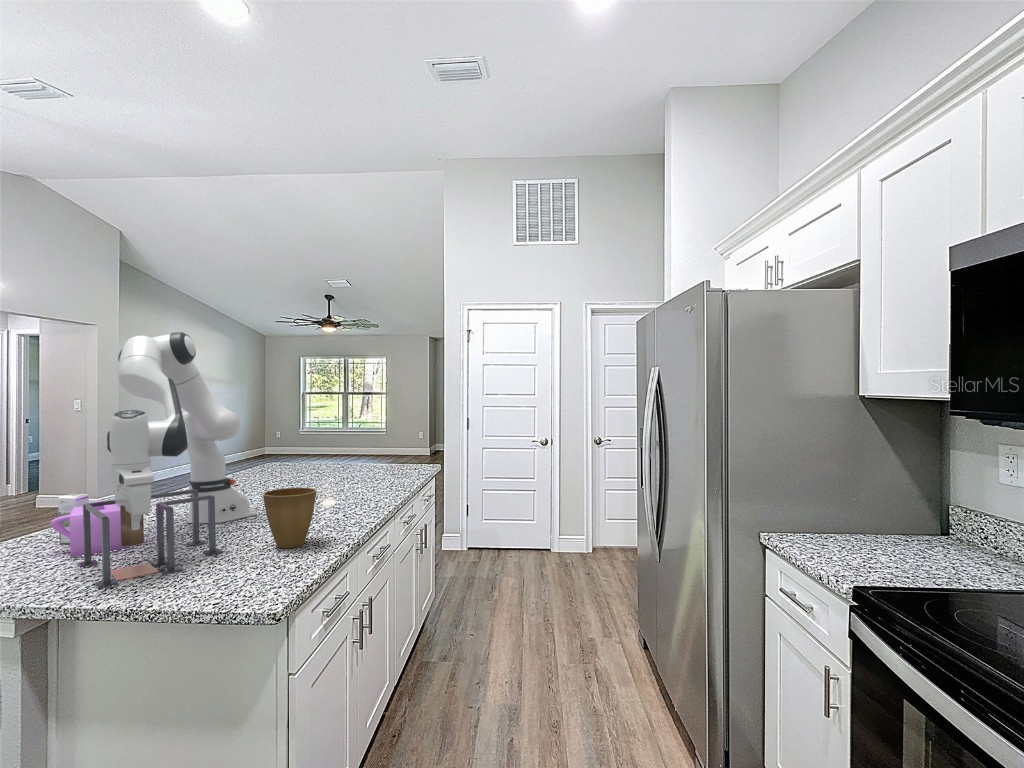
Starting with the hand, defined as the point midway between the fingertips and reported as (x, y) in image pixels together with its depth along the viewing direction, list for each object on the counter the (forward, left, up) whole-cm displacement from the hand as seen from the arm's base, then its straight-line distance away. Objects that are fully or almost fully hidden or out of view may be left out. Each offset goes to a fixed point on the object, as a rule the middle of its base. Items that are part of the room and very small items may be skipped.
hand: (132, 527), depth 154 cm
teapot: (0, -35, -12) cm, 37 cm away
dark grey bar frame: (-7, -5, -12) cm, 14 cm away
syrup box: (+5, -49, -12) cm, 51 cm away
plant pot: (-39, +6, -12) cm, 41 cm away
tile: (0, 0, -12) cm, 12 cm away
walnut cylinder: (0, 0, -4) cm, 4 cm away
